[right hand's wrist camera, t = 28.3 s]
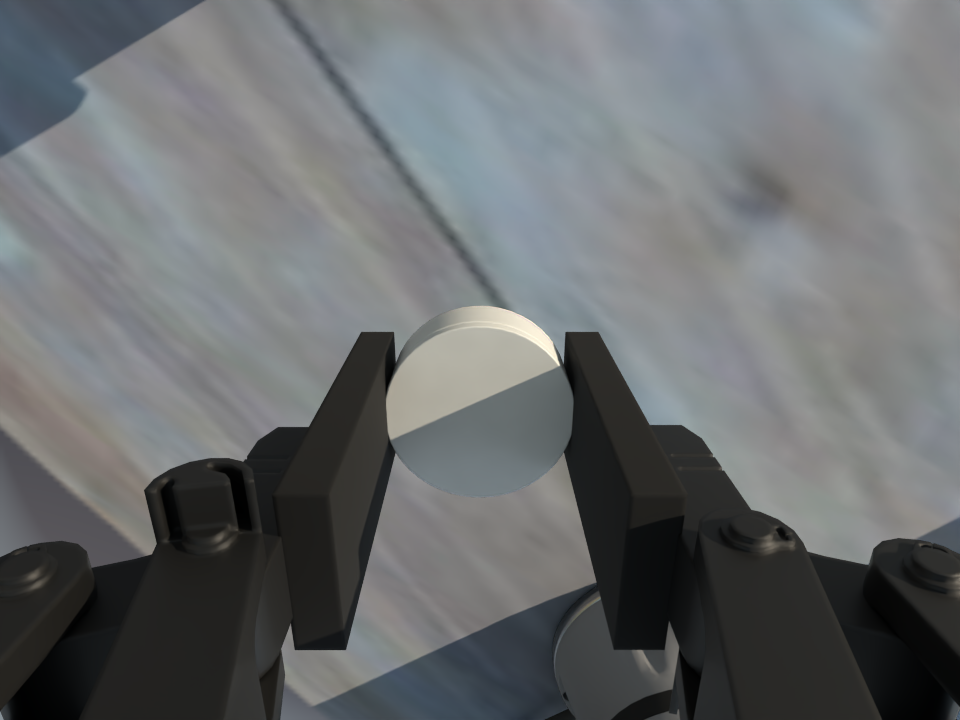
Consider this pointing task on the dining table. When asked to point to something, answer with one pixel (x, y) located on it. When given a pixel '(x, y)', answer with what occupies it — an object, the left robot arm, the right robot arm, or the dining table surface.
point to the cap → (479, 402)
